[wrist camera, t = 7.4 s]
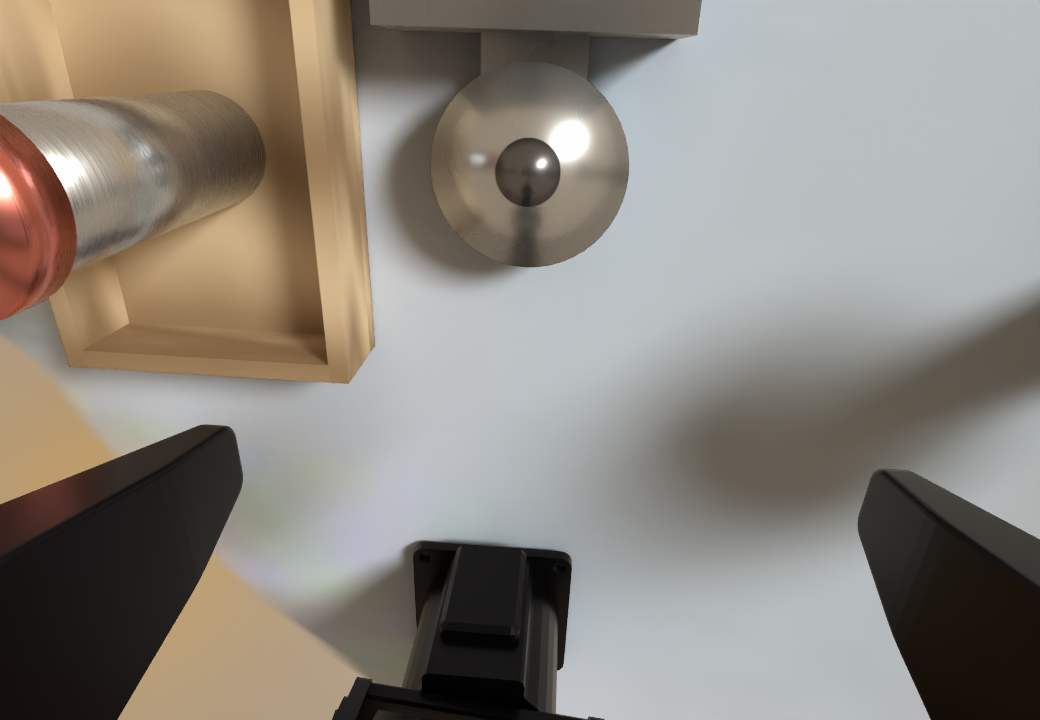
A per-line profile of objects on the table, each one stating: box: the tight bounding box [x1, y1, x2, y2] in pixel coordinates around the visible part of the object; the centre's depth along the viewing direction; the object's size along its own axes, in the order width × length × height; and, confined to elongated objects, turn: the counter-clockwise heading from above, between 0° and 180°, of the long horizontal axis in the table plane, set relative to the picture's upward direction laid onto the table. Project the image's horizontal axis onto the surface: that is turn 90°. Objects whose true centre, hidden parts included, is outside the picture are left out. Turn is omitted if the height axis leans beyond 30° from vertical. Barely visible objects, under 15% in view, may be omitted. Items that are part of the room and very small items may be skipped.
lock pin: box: [0, 90, 266, 320], centre depth 15 cm, size 4×4×10 cm
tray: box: [0, 0, 375, 384], centre depth 19 cm, size 13×9×3 cm
